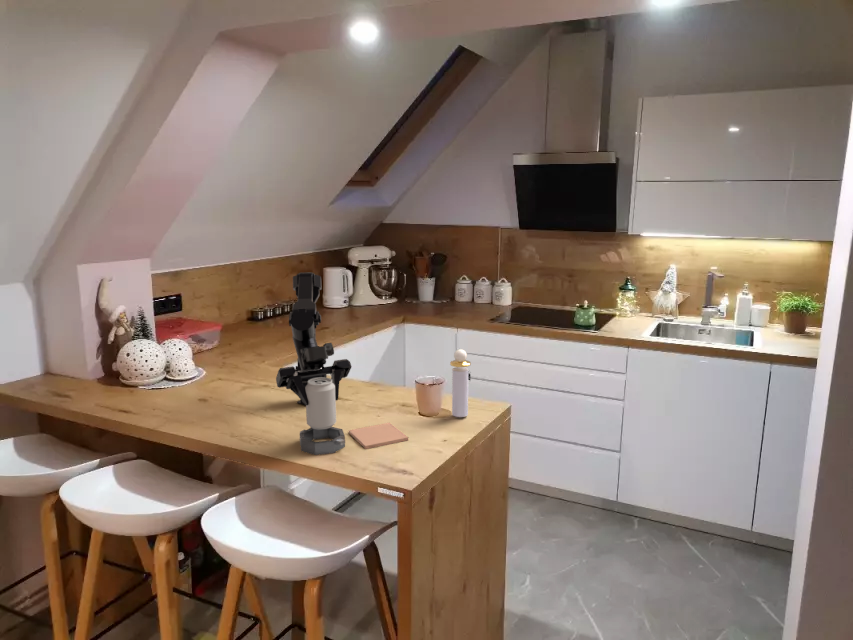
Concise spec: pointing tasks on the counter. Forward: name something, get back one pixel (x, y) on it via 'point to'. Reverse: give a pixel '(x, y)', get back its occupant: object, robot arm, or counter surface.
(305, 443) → the collar
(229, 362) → the counter surface
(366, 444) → the coaster
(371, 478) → the counter surface
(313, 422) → the can
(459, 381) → the perfume bottle
